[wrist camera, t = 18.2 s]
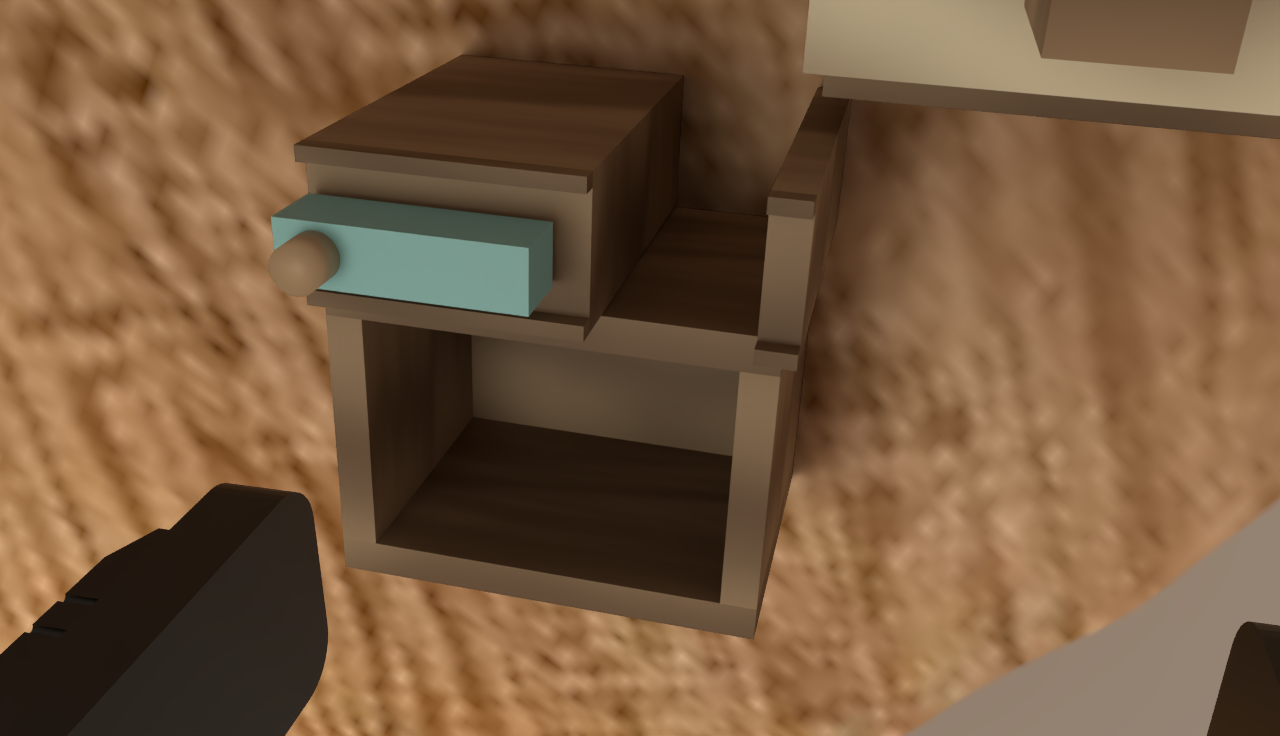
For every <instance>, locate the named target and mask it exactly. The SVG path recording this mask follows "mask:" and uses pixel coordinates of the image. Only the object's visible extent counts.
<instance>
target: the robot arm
mask: <svg viewBox="0 0 1280 736" xmlns="http://www.w3.org/2000/svg"><path fill="white" fill-rule="evenodd" d="M65 595H66V596H65V600H64V602H59V601H57V602H56V603H55V604H54V605H53V606H52V607H51V608H50V609H49V610H48V611H47V612H45V613H44V614H43V615H42V616H41V617H40V618H39V619H38V620H37V621H36V622H35V623H34V624H33V629H32V631H31V633H26V632H24V633H23V634H22V635H21V636H20V637H19V638H18V639H17V640H15V641H14V642H13V643H12V644H11V645H10V646H9V647H8V648H7V649H6V650H5V651H4V652H3V653H2V654H0V736H285V735H286V733H287V732H288V730H289V729H290V727H291V726H292V724H293V723H294V722H295V720H296V719H297V717H298V716H299V714H300V713H301V711H302V710H303V708H304V707H305V705H306V704H307V703H308V701H309V700H310V698H311V696H312V695H313V693H314V691H315V689H316V687H317V685H318V682H319V680H320V677H321V674H322V671H323V667H324V663H325V659H326V653H327V645H328V625H327V617H326V609H325V602H324V594H323V586H322V578H321V570H320V563H319V555H318V547H317V539H316V531H315V524H314V517H313V511H312V508H311V505H310V503H309V501H308V499H307V498H306V497H305V496H304V495H303V494H301V493H297V492H290V491H282V490H275V489H267V488H260V487H252V486H245V485H237V484H230V483H222V484H219V485H217V486H215V487H214V488H213V489H211V490H210V491H209V492H208V493H207V494H206V495H205V496H204V497H203V498H202V499H201V500H200V501H199V502H198V503H197V504H196V505H195V506H194V507H193V508H192V509H191V510H189V511H188V512H187V513H186V514H185V515H184V516H183V517H182V518H181V519H180V520H179V521H178V522H177V523H176V524H175V525H174V526H173V527H172V528H171V529H170V530H166V529H157V530H155V531H153V532H151V533H149V534H147V535H146V536H144V537H142V538H140V539H138V540H136V541H134V542H132V543H131V544H129V545H127V546H125V547H123V548H121V549H119V550H117V551H115V552H114V553H112V554H110V555H108V556H106V557H104V558H103V559H102V560H101V561H100V562H99V563H98V564H97V565H96V566H95V567H94V568H93V569H92V570H90V571H89V572H88V573H87V574H86V575H85V576H84V577H83V578H82V579H81V580H80V581H79V582H78V583H77V584H75V585H74V586H73V587H72V588H71V589H70V590H69V591H68V592H67V593H66V594H65ZM1207 736H1280V626H1278V625H1270V624H1263V623H1256V622H1246V623H1244V624H1243V625H1242V626H1241V627H1240V629H1239V630H1238V632H1237V634H1236V637H1235V638H1234V641H1233V644H1232V648H1231V651H1230V655H1229V658H1228V662H1227V665H1226V669H1225V672H1224V676H1223V680H1222V683H1221V687H1220V690H1219V694H1218V698H1217V701H1216V705H1215V709H1214V712H1213V715H1212V719H1211V723H1210V726H1209V730H1208V734H1207Z"/></svg>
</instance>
